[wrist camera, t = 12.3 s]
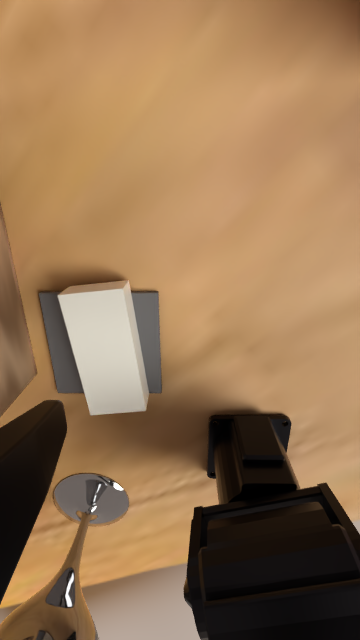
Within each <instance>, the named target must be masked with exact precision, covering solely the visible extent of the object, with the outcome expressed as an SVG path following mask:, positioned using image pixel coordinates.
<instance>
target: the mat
mask: <svg viewBox="0 0 360 640" xmlns="http://www.w3.org/2000/svg"><path fill="white" fill-rule="evenodd" d="M60 293H61V292H40V293H39V297H40V303H41V308H42V313H43V318H44V323H45V329H46V334H47V339H48V344H49V349H50V355H51V360H52V365H53V370H54V375H55V381H56V386H57V391H58V393H84V389H83V386H82V382H81V379H80V375H79V371H78V368H77V364H76V360H75V357H74V353H73V350H72V346H71V342H70V339H69V335H68V332H67V328H66V324H65V321H64V317H63V313H62V310H61V306H60V303H59V299H58V295H59V294H60ZM131 295H132V301H133V306H134V312H135V318H136V323H137V329H138V334H139V340H140V346H141V351H142V357H143V362H144V368H145V374H146V379H147V385H148V390H149V393H161V392H162V384H161V355H160V326H159V297H158V292H131Z"/></svg>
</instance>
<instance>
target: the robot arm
mask: <svg viewBox="0 0 360 640" xmlns="http://www.w3.org/2000/svg"><path fill="white" fill-rule="evenodd" d="M214 421H217V423H213V422H214ZM285 421H286V422H285ZM283 422H285V423H283ZM290 429H291V421H290V419H289V417H287V416H268V415H214V416H211V417H210V418H209V430H208V455H207V475H208V477H209V478H213V479H216V482H217V490H218V499H219V505H214V506H208V507H203V506H200V507H194V516H193V520H192V522H191V533H190V544H189V554H188V565H187V577H186V581H185V585H184V598H185V601H186V602H187V603H188V605H189V606H190V607H191V608H192V611H193V614H194V619H195V623H196V627H197V631H198V634H199V636H200V639H201V640H360V534H359V533H358V531H357V529H356V528H355V526H354V525H353V523H352V522H351V520H350V519H349V517H348V515H347V514H346V512H345V511H344V509H343V508H342V506H341V505H340V503H339V502H338V500H337V499H336V497H335V495H334V494H333V492H332V491H331V489H330V488H329V486H328V485H327V483H322V484H317V485H318V486H315V487H309V488H304V489H300V486H299V484H298V481H297V479H296V476H295V474H294V471H293V469H292V466H291V464H290V461H289V459H288V457H287V454H286V452H287V447H288V441H289V435H290ZM66 433H67V422H66V417H65V412H64V406H63V403H62V402H61V401H60V400H46V401H43V402H42V403H40V404H38V405H37V406H35V407H34V408H32V409H30V410H29V411H27V412H25V413H24V414H22V415H21V416H19V417H17V418H16V419H14V420H13V421H11V422H9V423H8V424H6V425H4V426H3V427H1V428H0V604H1V601H2V599H3V597H4V594H5V592H6V590H7V587H8V585H9V583H10V580H11V578H12V575H13V573H14V571H15V568H16V566H17V564H18V561H19V559H20V557H21V554H22V552H23V550H24V547H25V545H26V543H27V540H28V538H29V536H30V533H31V531H32V529H33V526H34V524H35V522H36V519H37V517H38V515H39V512H40V510H41V508H42V505H43V503H44V501H45V498H46V496H47V493H48V490H49V487H50V485H51V482H52V478H53V475H54V472H55V469H56V466H57V462H58V459H59V456H60V453H61V449H62V446H63V443H64V440H65V437H66ZM212 472H213V473H212Z"/></svg>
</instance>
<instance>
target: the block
mask: <svg viewBox="0 0 360 640" xmlns="http://www.w3.org/2000/svg"><path fill="white" fill-rule="evenodd" d="M58 299H59V303H60V306H61V310H62V313H63V317H64V321H65V324H66V328H67V332H68V335H69V339H70V342H71V346H72V350H73V353H74V357H75V360H76V364H77V368H78V371H79V375H80V379H81V382H82V386H83V389H84V393H85V397H86V400H87V404H88V408H89V411H90V415H102V414H114V413H126V412H139V411H146V408H147V403H148V397H149V390H148V385H147V379H146V374H145V368H144V362H143V357H142V351H141V346H140V340H139V334H138V329H137V323H136V318H135V312H134V306H133V301H132V295H131V290H130V284H129V280H125V281H115V282H106V283H96V284H87V285H77V286H69V287H68V288H67V289H65V290H64V291H63V292H61V293H60V294H59V295H58Z"/></svg>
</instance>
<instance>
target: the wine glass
mask: <svg viewBox="0 0 360 640" xmlns="http://www.w3.org/2000/svg"><path fill="white" fill-rule="evenodd" d="M53 498H54V503H55V506H56V507H57V509H58V510H59V512H60V513H61V514H62V515H64V516H65V517H66V518H68V519H69V520H71V521H73V522H75V523H78V524H80V525H79V528H78V531H77V534H76V536H75V539H74V541H73V544H72V546H71V548H70V551H69V553H68V555H67V557H66V559H65V562H64V564H63V565H62V567H61V569H60V570H59V572H58V573H57V574H56V575H55V577H54V578H53V579H52V580H51V581H50V582H49V583H48V584H47V585H46V586H45V587H44V588H42V589H41V590H40V591H39V592H37V593H36V594H35V595H33V596H32V597H31V598H30V599H28V600H27V601H26V602H24V603H23V604H22V605H20V606H19V607H18V608H17V609H15V610H14V611H13V612H12V613H11V614H10V615H9V616H8V617H7V618H6V619H4V620H3V622H2V623H1V624H0V640H99V638H98V634H97V630H96V627H95V624H94V621H93V619H92V616H91V614H90V611H89V609H88V607H87V604H86V601H85V599H84V596H83V594H82V590H81V586H80V578H79V569H80V561H81V555H82V549H83V544H84V540H85V536H86V532H87V529H88V526H95V527H96V526H106V525H110V524H113V523H115V522H117V521H119V520H120V519H121V518H122V517H123V516H124V515H125V514H126V512H127V511H128V507H129V498H128V495H127V493H126V492H125V490H124V489H123V488H122V487H121V486H120V485H119V484H118V483H117V482H115V481H114V480H112V479H110V478H108V477H105V476H102V475H98V474H91V473H82V474H75V475H72V476H69V477H67V478H65V479H63V480H62V481H61V482H60V483H59V484H58V485H57V486H56V488H55V490H54V495H53Z"/></svg>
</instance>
